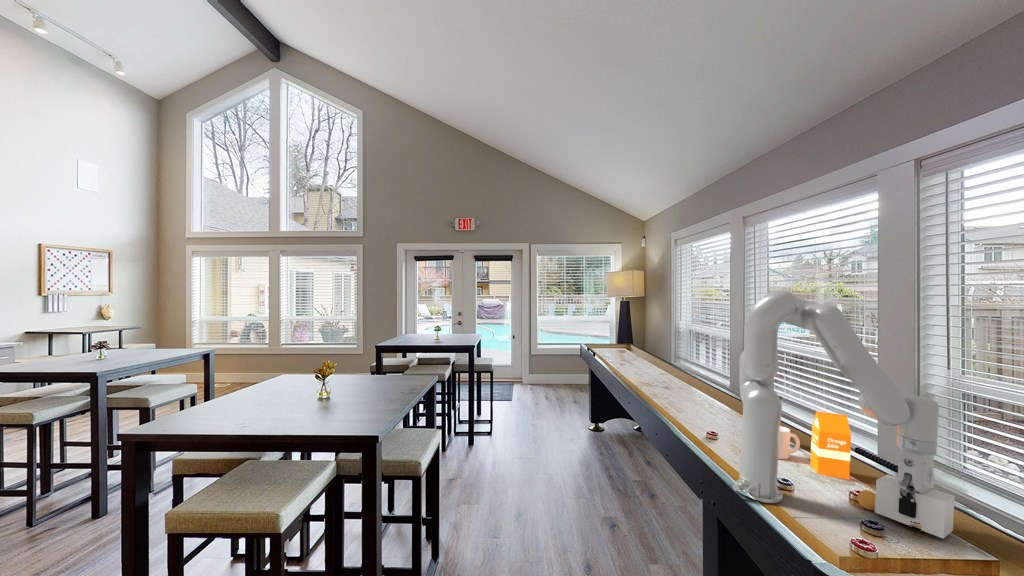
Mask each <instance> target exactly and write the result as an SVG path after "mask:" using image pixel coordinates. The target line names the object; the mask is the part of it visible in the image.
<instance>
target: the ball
mask: <svg viewBox="0 0 1024 576" xmlns="http://www.w3.org/2000/svg"><path fill="white" fill-rule="evenodd" d="M875 497H876V492H874V491H871V490H868V489H865V490H861V491H858V494H857V497H856V498H857V501H858V504H859V505H860V506H862V508H864V509H865V510H869V511H875Z"/></svg>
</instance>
